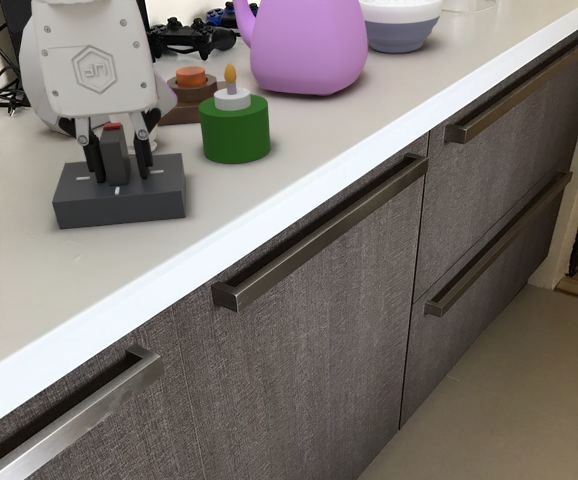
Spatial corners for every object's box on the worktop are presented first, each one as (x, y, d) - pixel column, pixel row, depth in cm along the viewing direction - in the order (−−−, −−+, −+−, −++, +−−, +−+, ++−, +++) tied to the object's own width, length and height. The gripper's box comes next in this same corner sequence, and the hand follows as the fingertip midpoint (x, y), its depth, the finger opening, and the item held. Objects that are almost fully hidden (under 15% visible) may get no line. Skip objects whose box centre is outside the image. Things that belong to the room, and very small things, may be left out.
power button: (177, 89, 90) (175, 75, 89) (177, 80, 93) (175, 67, 92) (206, 87, 91) (205, 73, 89) (206, 78, 94) (204, 65, 92)
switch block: (151, 126, 90) (146, 95, 88) (154, 102, 98) (149, 73, 95) (239, 119, 91) (237, 88, 88) (235, 95, 98) (232, 67, 96)
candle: (203, 165, 79) (191, 77, 73) (205, 139, 86) (194, 56, 79) (272, 161, 80) (266, 72, 73) (268, 135, 86) (263, 52, 79)
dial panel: (59, 229, 69) (51, 200, 66) (71, 188, 76) (64, 161, 74) (185, 217, 69) (180, 188, 67) (185, 178, 77) (181, 151, 75)
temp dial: (128, 184, 69) (118, 139, 66) (108, 186, 69) (98, 140, 66) (131, 165, 73) (122, 121, 70) (112, 166, 73) (102, 123, 69)
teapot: (385, 64, 107) (391, -46, 97) (343, 107, 93) (344, -17, 83) (257, 55, 114) (250, -49, 104) (200, 93, 100) (185, -22, 90)
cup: (164, 134, 88) (153, 69, 82) (174, 163, 80) (163, 94, 75) (110, 142, 86) (96, 76, 81) (116, 171, 79) (100, 102, 74)
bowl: (344, 56, 111) (345, 5, 106) (364, 34, 122) (366, -14, 117) (431, 60, 108) (436, 8, 103) (444, 37, 118) (449, -12, 113)
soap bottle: (60, 143, 87) (12, -35, 74) (35, 135, 89) (-15, -38, 76) (150, 107, 96) (121, -57, 83) (126, 101, 99) (94, -59, 85)
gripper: (-28, -7, 55) (38, 198, 67) (172, -24, 56) (202, 182, 68) (-8, -24, 61) (49, 169, 73) (173, -38, 62) (201, 154, 74)
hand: (123, 173), depth 71 cm, fingers open, 3 cm apart
